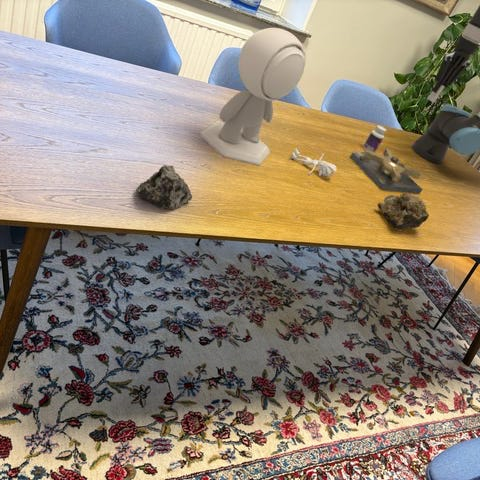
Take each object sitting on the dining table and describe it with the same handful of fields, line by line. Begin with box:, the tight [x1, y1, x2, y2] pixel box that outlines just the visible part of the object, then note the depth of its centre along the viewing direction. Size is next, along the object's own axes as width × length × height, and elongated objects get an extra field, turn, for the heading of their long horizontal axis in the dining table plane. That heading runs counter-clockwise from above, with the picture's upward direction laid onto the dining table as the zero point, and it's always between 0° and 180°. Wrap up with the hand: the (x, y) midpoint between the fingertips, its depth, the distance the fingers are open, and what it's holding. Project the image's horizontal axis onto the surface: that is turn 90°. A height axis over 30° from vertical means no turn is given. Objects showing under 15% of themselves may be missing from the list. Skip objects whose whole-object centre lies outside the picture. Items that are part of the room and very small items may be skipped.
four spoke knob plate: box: [362, 148, 421, 182], centre depth 161 cm, size 22×22×4 cm
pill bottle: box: [362, 125, 387, 154], centre depth 177 cm, size 5×5×10 cm
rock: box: [136, 164, 193, 210], centre depth 100 cm, size 13×10×10 cm
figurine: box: [290, 148, 338, 177], centre depth 143 cm, size 12×5×15 cm
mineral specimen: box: [377, 192, 430, 231], centre depth 135 cm, size 14×13×10 cm
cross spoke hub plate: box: [349, 150, 423, 195], centre depth 163 cm, size 20×20×3 cm
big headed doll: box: [199, 27, 306, 166], centre depth 127 cm, size 20×23×35 cm
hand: (430, 100), depth 174 cm, fingers closed
